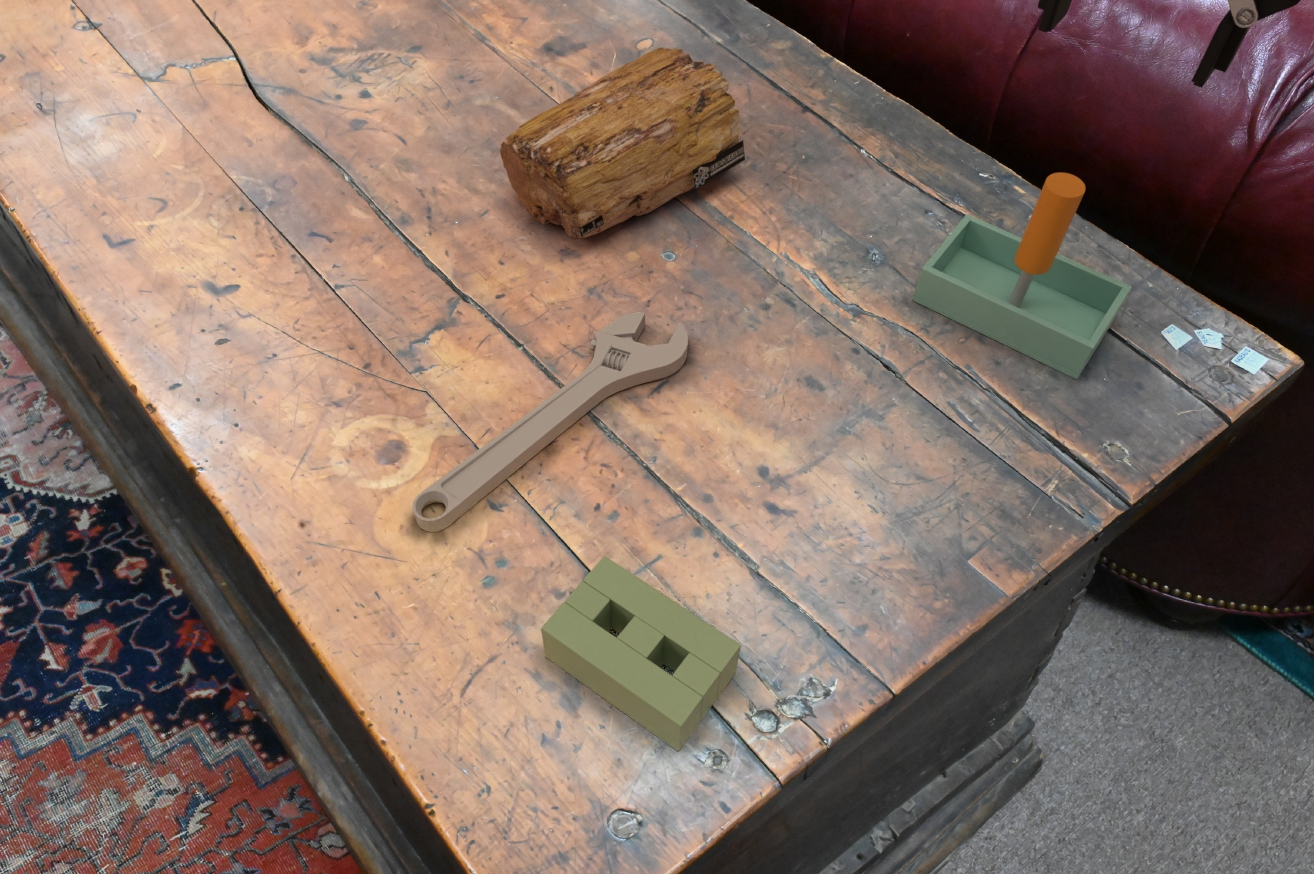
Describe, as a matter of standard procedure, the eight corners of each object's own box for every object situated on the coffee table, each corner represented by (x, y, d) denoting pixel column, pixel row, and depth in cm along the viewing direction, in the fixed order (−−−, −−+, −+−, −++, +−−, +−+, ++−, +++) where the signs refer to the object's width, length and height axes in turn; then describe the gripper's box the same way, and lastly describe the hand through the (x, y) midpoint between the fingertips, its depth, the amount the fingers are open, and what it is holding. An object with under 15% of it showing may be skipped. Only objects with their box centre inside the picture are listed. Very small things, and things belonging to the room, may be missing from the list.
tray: (955, 246, 87) (966, 213, 84) (1115, 318, 82) (1132, 286, 79) (911, 300, 83) (921, 268, 80) (1076, 380, 78) (1093, 348, 75)
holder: (605, 586, 66) (604, 555, 63) (735, 672, 63) (741, 644, 60) (544, 656, 63) (540, 627, 60) (678, 752, 60) (681, 726, 56)
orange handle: (1038, 301, 82) (1091, 182, 73) (1024, 321, 81) (1076, 202, 71) (1006, 286, 83) (1054, 167, 74) (991, 306, 82) (1039, 187, 72)
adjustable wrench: (432, 541, 68) (427, 527, 67) (379, 483, 71) (374, 468, 70) (700, 356, 78) (701, 341, 77) (645, 312, 81) (645, 296, 80)
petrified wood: (586, 272, 83) (560, 164, 76) (499, 219, 91) (468, 117, 84) (754, 168, 91) (744, 61, 84) (659, 128, 99) (643, 27, 92)
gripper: (1469, -256, 48) (1285, 70, 61) (1116, -331, 54) (1019, -20, 67) (1438, -207, 44) (1249, 129, 58) (1061, -294, 50) (971, 28, 64)
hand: (1125, 49), depth 62 cm, fingers open, 9 cm apart
